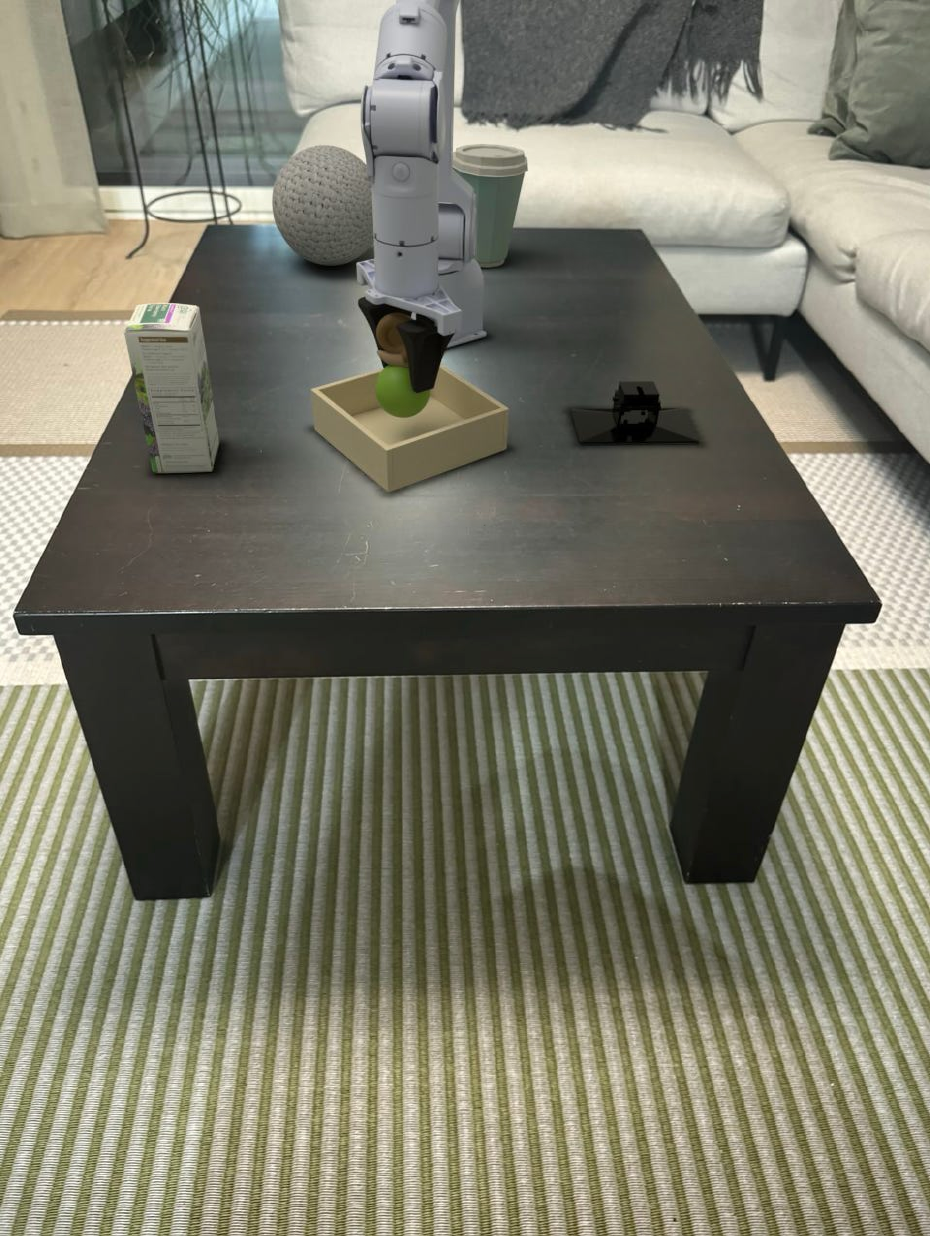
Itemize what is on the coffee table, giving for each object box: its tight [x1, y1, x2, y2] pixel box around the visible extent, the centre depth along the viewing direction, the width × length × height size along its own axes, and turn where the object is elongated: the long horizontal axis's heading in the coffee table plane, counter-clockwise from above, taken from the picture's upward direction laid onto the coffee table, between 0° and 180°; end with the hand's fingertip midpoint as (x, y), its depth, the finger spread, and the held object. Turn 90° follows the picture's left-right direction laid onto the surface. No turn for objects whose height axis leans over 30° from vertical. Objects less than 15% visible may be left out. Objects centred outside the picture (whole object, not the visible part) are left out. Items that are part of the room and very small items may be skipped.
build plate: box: [569, 380, 700, 446], centre depth 95 cm, size 12×7×5 cm, turn 93°
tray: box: [310, 363, 510, 493], centre depth 92 cm, size 14×14×5 cm
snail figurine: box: [375, 313, 430, 418], centre depth 88 cm, size 5×6×12 cm
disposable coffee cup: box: [453, 143, 529, 268], centre depth 127 cm, size 11×11×15 cm
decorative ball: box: [271, 144, 374, 267], centre depth 125 cm, size 15×15×15 cm
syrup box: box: [123, 302, 220, 474], centre depth 85 cm, size 6×6×14 cm
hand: (408, 378), depth 89 cm, fingers closed on snail figurine, 4 cm apart
